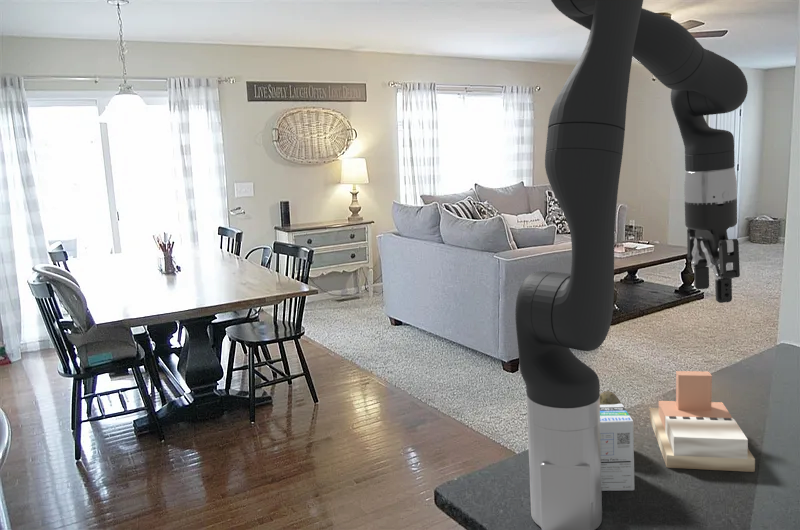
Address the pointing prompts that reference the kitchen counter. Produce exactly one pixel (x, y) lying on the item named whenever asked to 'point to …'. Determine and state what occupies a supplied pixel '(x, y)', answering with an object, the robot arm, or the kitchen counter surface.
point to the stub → (693, 398)
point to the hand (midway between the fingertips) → (712, 294)
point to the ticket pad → (695, 460)
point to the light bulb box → (616, 448)
